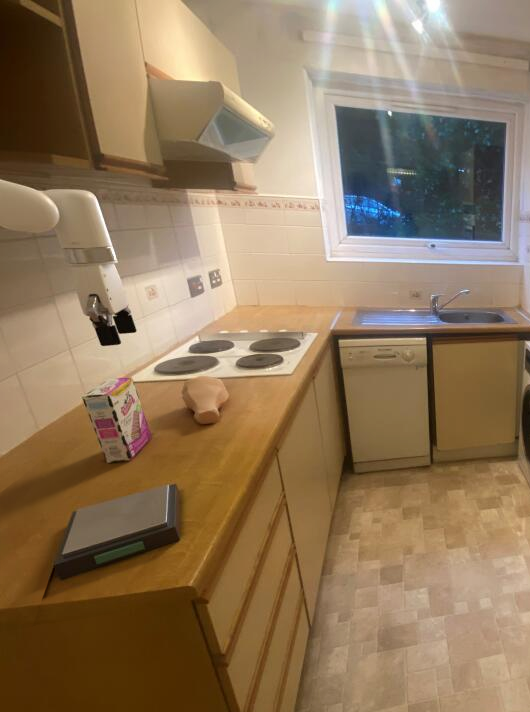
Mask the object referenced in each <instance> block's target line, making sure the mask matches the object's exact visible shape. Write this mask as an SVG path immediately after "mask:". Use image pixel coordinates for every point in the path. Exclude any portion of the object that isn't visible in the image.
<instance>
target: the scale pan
mask: <svg viewBox="0 0 530 712" xmlns="http://www.w3.org/2000/svg"><path fill="white" fill-rule="evenodd" d="M169 485H170V484H164V485H161V486H157V487H154V488H150V489H146V490H143V491H140V492H136V493H132V494H128V495H125V496H121V497H117V498H113V499H109V500H106V501H102V502H98V503H95V504H91V505H87V506H84V507H81V508H80V507H79V508H78V509H77V510H76V511H77V512H76V515H75V518H74V521H73V524H72V527H71V530H70V533H69V535H68V538H67V541H66V544H65V547H64V550H63V553H62V555H63V557H64V558H65V557H68V556H72V555H75V554H78V553H81V552H84V551H88V550H91V549H94V548H97V547H100V546H104V545H107V544H110V543H113V542H116V541H120V540H123V539H126V538H129V537H132V536H135V535H139V534H142V533H145V532H148V531H151V530H155V529H158V528H161V527H164V526H167V525H168V509H169V489H170V487H169Z"/></svg>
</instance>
